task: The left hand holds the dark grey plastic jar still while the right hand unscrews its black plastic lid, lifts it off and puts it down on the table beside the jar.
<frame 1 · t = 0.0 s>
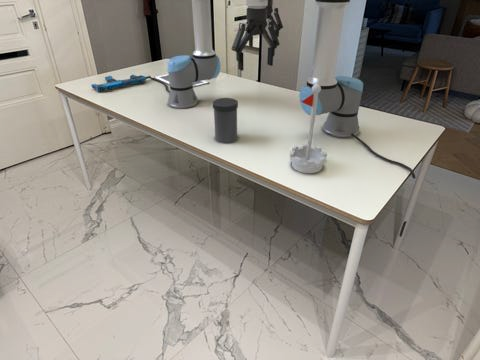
left hand: (255, 67, 133), 28 cm above the table, tool pointing down, fingers open, 13 cm apart
right hand: (263, 45, 167), 28 cm above the table, tool pointing down, fingers open, 13 cm apart
submachine gun: (121, 83, 207), on the table
flag stand: (306, 165, 124), on the table
lid: (225, 102, 135), point 16 cm above the table, screwed on, not yet turned
jar: (226, 138, 144), on the table
tablet: (181, 80, 212), on the table
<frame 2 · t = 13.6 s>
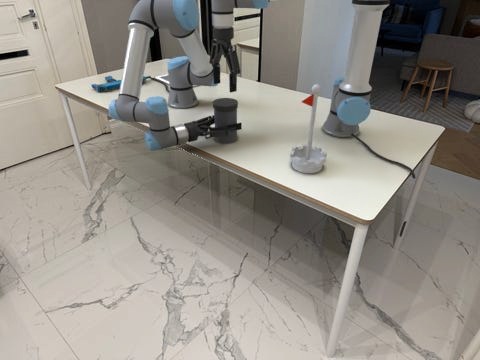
left hand: (235, 121, 142), 7 cm above the table, tool horizontal, fingers closed on jar, 9 cm apart
right hand: (224, 87, 132), 22 cm above the table, tool pointing down, fingers open, 11 cm apart
jar: (226, 138, 144), on the table, touching left hand
everything else where it was.
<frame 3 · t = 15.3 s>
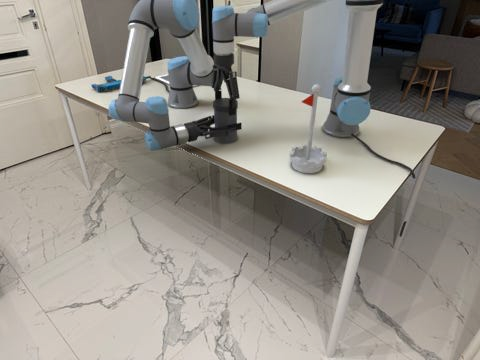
left hand: (235, 121, 142), 7 cm above the table, tool horizontal, fingers closed on jar, 9 cm apart
right hand: (225, 110, 137), 12 cm above the table, tool pointing down, fingers closed on lid, 10 cm apart
lid: (225, 102, 135), point 16 cm above the table, screwed on, not yet turned, touching right hand
jar: (226, 138, 144), on the table, touching left hand
everything else where it was.
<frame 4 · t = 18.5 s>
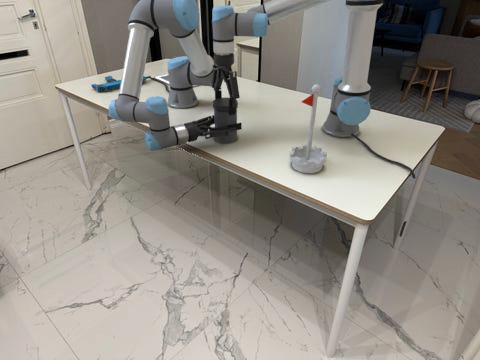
left hand: (235, 121, 142), 7 cm above the table, tool horizontal, fingers closed on jar, 9 cm apart
right hand: (225, 110, 137), 12 cm above the table, tool pointing down, fingers closed on lid, 10 cm apart
lid: (225, 102, 135), point 16 cm above the table, turned 86° so far, risen 0.1 cm, still on its thread, touching right hand
jar: (226, 138, 144), on the table, touching left hand
everything else where it was.
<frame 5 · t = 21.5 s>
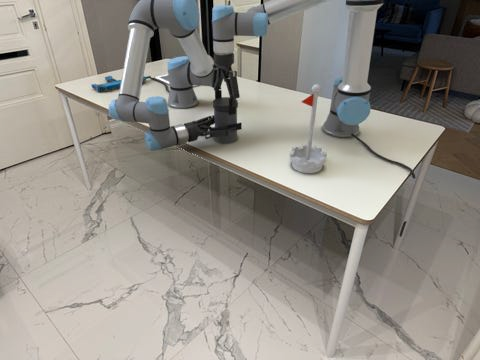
left hand: (235, 121, 142), 7 cm above the table, tool horizontal, fingers closed on jar, 9 cm apart
right hand: (225, 110, 137), 13 cm above the table, tool pointing down, fingers closed on lid, 10 cm apart
lid: (225, 102, 135), point 16 cm above the table, turned 171° so far, risen 0.3 cm, still on its thread, touching right hand
jar: (226, 138, 144), on the table, touching left hand
everything else where it was.
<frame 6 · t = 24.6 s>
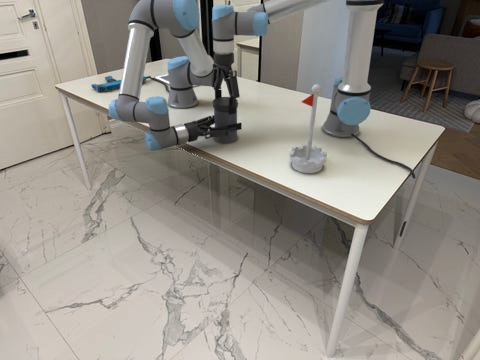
left hand: (235, 121, 142), 7 cm above the table, tool horizontal, fingers closed on jar, 9 cm apart
right hand: (225, 109, 137), 13 cm above the table, tool pointing down, fingers closed on lid, 10 cm apart
lid: (225, 101, 135), point 16 cm above the table, turned 256° so far, risen 0.4 cm, still on its thread, touching right hand
jar: (226, 138, 144), on the table, touching left hand
everything else where it was.
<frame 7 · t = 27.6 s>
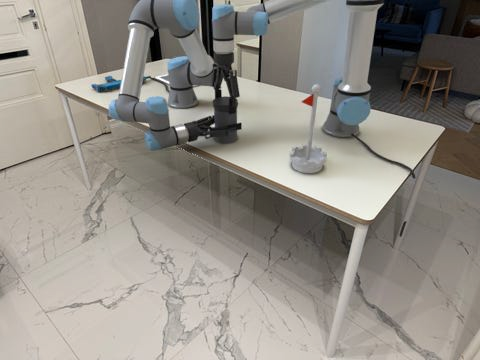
left hand: (235, 121, 142), 7 cm above the table, tool horizontal, fingers closed on jar, 9 cm apart
right hand: (225, 109, 137), 13 cm above the table, tool pointing down, fingers closed on lid, 10 cm apart
lid: (225, 101, 135), point 16 cm above the table, turned 342° so far, risen 0.6 cm, still on its thread, touching right hand
jar: (226, 138, 144), on the table, touching left hand
everything else where it was.
when the right hand's fingers open (0 cm above the table, at t = 35.0 s): lid drops 2 cm, point 2 cm above the table.
when the left hand's fingers open (7 cm above the table, at t = 36.0 s): jar stays where it is, on the table.
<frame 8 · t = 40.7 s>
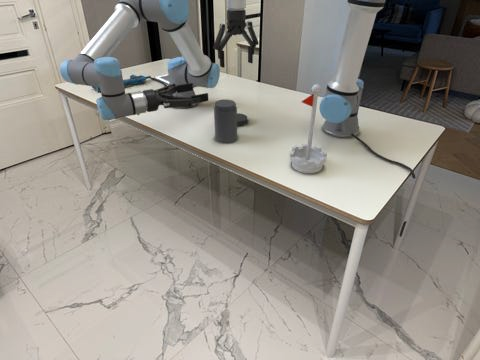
left hand: (200, 91, 127), 22 cm above the table, tool horizontal, fingers open, 13 cm apart
right hand: (236, 64, 144), 26 cm above the table, tool pointing down, fingers open, 13 cm apart
lid: (236, 118, 157), point 2 cm above the table, off its thread
jar: (226, 138, 144), on the table
everything else where it was.
at the end: lid came off its thread; lid point 1.9 cm above the table; the left hand is holding nothing; the right hand is holding nothing; jar tilted 0°; jar moved 0.0 cm from its start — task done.
